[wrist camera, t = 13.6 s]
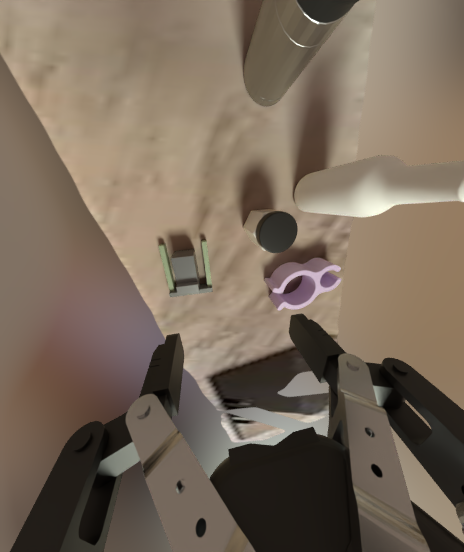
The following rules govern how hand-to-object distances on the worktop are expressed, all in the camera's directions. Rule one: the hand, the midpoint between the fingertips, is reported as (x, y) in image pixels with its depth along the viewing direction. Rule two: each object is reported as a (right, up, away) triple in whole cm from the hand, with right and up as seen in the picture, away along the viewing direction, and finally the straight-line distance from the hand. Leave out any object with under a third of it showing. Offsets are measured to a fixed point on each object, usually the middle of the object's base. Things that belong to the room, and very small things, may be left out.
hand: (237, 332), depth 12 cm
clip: (+20, +4, +41) cm, 45 cm away
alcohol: (+19, +25, +30) cm, 44 cm away
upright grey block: (-12, +7, +33) cm, 36 cm away
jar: (+7, +17, +32) cm, 37 cm away
